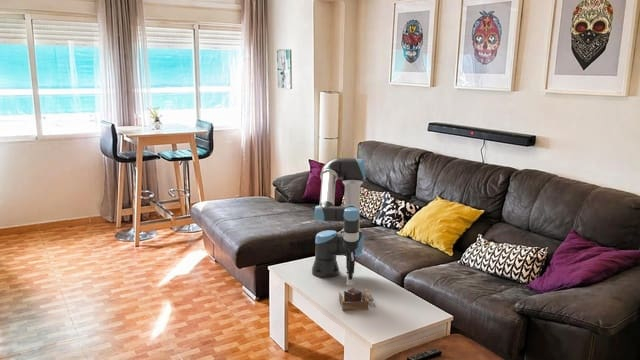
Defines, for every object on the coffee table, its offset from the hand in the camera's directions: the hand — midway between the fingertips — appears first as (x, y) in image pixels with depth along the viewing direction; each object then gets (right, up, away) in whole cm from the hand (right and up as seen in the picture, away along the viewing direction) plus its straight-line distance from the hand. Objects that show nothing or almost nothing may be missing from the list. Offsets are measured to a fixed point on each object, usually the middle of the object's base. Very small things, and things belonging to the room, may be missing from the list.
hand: (349, 284), depth 256 cm
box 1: (+1, -8, -11) cm, 14 cm away
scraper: (+9, -6, -3) cm, 12 cm away
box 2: (+1, -8, -10) cm, 13 cm away
